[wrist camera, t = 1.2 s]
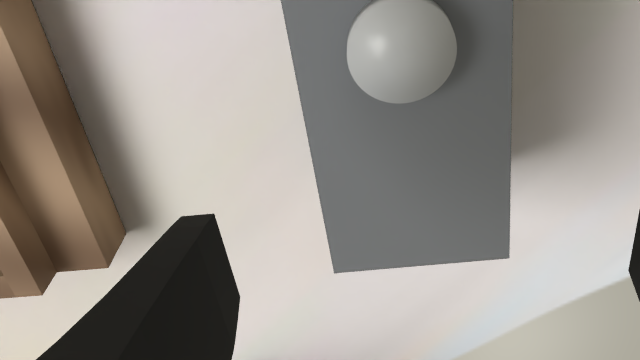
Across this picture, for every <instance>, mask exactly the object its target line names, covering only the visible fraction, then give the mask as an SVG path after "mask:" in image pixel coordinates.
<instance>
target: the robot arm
mask: <svg viewBox="0 0 640 360" xmlns="http://www.w3.org/2000/svg"><path fill="white" fill-rule="evenodd" d="M629 273H630V276H631V279H632V281H633V284H634V287H635V290H636V293H637V295H638V298H639V301H640V211H639V216H638V222H637V227H636V233H635V238H634V244H633V249H632V255H631V260H630V265H629ZM239 302H240V295H239V292H238V289H237V286H236V282H235V279H234V276H233V273H232V270H231V266H230V263H229V260H228V257H227V253H226V250H225V247H224V244H223V241H222V237H221V234H220V231H219V228H218V225H217V221H216V218H215V215H214V214H205V215H194V216H182V217H180V218H179V219H178V220H177V221H176V222H175V223H174V224H173V225H172V226H171V227H170V228H169V229H168V230H167V231H166V232H165V233H164V234H163V235H162V237H161V238H160V239H159V240H158V241H157V242H156V243H155V244H154V245H153V246H152V247H151V248H150V249H149V250H148V251H147V253H146V254H145V255H144V256H143V257H142V258H141V259H140V260H139V261H138V262H137V263H136V264H135V265H134V266H133V267H132V268H131V269H130V270H129V271H128V272H127V274H126V275H125V276H124V277H123V278H122V279H121V280H120V281H119V282H118V283H117V284H116V285H115V286H114V287H113V288H112V289H111V290H110V291H109V292H108V293H107V294H106V295H105V296H104V297H103V298H102V299H101V300H100V301H99V302H98V303H97V304H96V305H95V306H94V307H93V308H92V309H91V310H90V311H89V312H87V313H86V314H85V315H84V316H83V317H82V318H81V319H80V320H79V321H78V322H77V323H76V324H75V325H74V326H73V327H72V328H71V329H70V330H69V331H67V332H66V333H65V334H64V335H63V336H62V337H61V338H60V339H59V340H58V341H57V342H56V343H55V344H53V345H52V346H51V347H50V348H49V349H48V350H47V351H46V352H44V353H43V354H42V355H41V356H40V357H39V358H37V359H36V360H231V359H232V355H233V351H234V345H235V337H236V329H237V321H238V312H239Z"/></svg>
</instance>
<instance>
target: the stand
mask: <svg viewBox="0 0 640 360" xmlns="http://www.w3.org/2000/svg"><path fill="white" fill-rule="evenodd" d="M125 235H126V232H125V229H124V227H123V225H122V222H121V220H120V217H119V215H118V212H117V210H116V207H115V205H114V202H113V200H112V198H111V195H110V193H109V190H108V188H107V185H106V183H105V180H104V178H103V175H102V173H101V171H100V168H99V166H98V163H97V161H96V158H95V156H94V153H93V151H92V149H91V146H90V144H89V141H88V139H87V136H86V134H85V131H84V129H83V126H82V124H81V122H80V119H79V117H78V114H77V112H76V109H75V107H74V104H73V102H72V99H71V97H70V95H69V92H68V90H67V87H66V85H65V82H64V80H63V77H62V75H61V72H60V70H59V68H58V65H57V63H56V60H55V58H54V55H53V53H52V50H51V48H50V45H49V43H48V41H47V38H46V36H45V33H44V31H43V28H42V26H41V23H40V21H39V19H38V16H37V14H36V11H35V9H34V6H33V4H32V1H31V0H0V298H12V297H26V296H39V295H43V294H44V292H45V290H46V289H47V287H48V285H49V284H50V282H51V281H52V279H53V277H54V276H55V274H56V273H57V272H64V271H76V270H88V269H101V268H109V266H110V264H111V262H112V260H113V258H114V256H115V254H116V252H117V250H118V248H119V246H120V245H121V243H122V241H123V239H124V237H125Z"/></svg>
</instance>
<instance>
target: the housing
mask: <svg viewBox="0 0 640 360" xmlns="http://www.w3.org/2000/svg"><path fill="white" fill-rule="evenodd" d="M281 3H282V9H283V14H284V19H285V24H286V29H287V34H288V39H289V44H290V49H291V55H292V60H293V65H294V70H295V75H296V80H297V85H298V90H299V96H300V101H301V106H302V111H303V116H304V121H305V126H306V131H307V136H308V142H309V147H310V152H311V157H312V162H313V167H314V172H315V177H316V182H317V188H318V193H319V198H320V203H321V208H322V213H323V218H324V223H325V228H326V234H327V239H328V244H329V249H330V254H331V259H332V264H333V269H334V273H342V272H354V271H365V270H377V269H389V268H400V267H412V266H424V265H436V264H447V263H459V262H471V261H482V260H494V259H506V258H509V243H510V172H511V101H512V31H513V0H281Z"/></svg>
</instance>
